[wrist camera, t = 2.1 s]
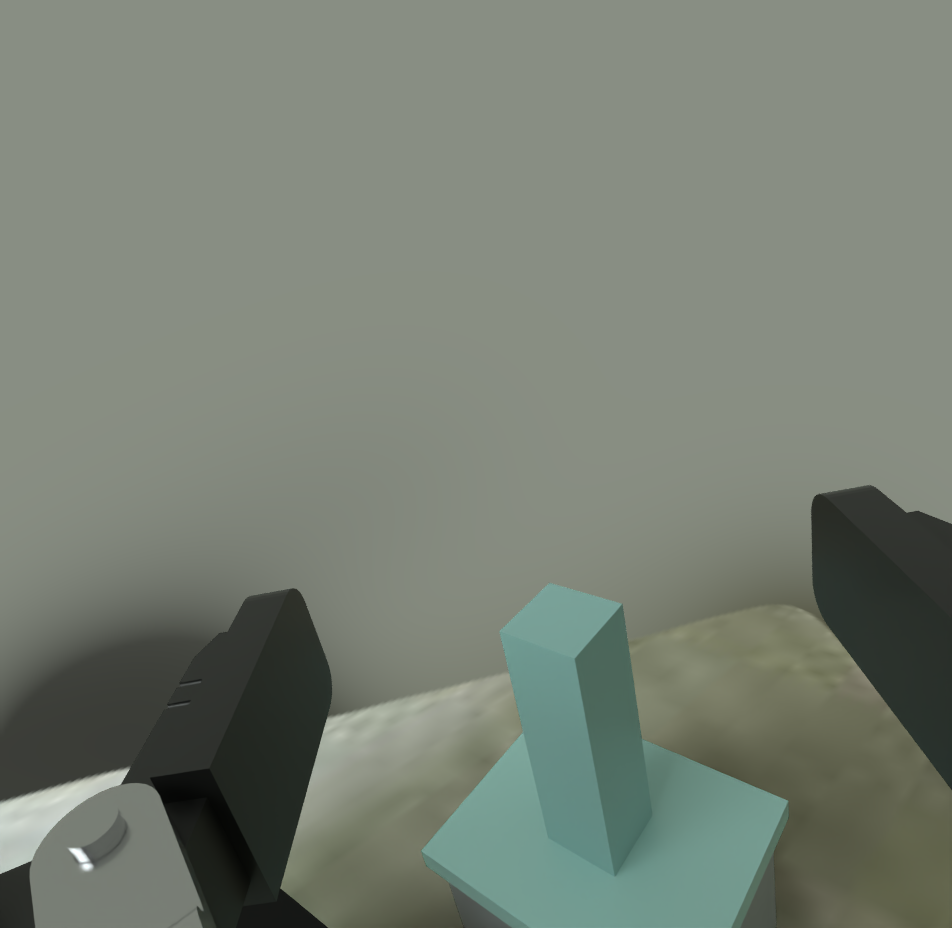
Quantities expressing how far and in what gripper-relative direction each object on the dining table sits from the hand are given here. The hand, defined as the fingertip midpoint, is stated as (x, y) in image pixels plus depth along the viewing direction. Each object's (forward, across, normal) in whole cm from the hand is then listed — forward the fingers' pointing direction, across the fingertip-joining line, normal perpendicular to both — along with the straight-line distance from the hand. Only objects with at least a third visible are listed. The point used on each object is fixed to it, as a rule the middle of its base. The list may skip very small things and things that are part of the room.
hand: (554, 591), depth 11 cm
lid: (+11, 0, +21) cm, 24 cm away
